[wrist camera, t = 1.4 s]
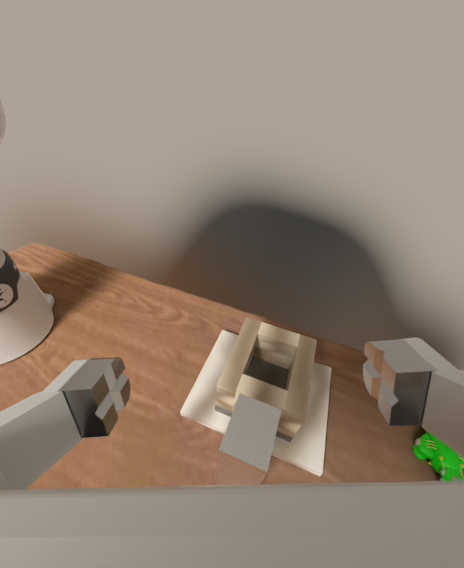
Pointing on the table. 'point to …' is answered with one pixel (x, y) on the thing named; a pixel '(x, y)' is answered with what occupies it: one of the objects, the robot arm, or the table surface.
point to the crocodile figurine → (440, 457)
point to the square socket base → (267, 388)
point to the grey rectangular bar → (247, 443)
